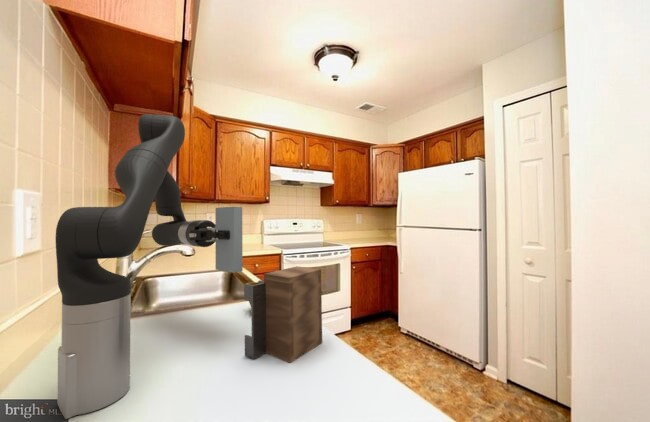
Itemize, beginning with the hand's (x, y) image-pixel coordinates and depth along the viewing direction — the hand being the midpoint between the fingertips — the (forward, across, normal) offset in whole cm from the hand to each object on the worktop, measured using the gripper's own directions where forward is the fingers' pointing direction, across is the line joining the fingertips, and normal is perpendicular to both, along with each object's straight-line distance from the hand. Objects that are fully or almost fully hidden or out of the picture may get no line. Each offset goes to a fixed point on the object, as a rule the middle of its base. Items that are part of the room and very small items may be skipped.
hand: (234, 234), depth 67 cm
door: (-2, 0, +9) cm, 9 cm away
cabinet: (+14, +7, +27) cm, 31 cm away
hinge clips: (+8, 0, +27) cm, 28 cm away
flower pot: (-12, +19, +27) cm, 35 cm away
